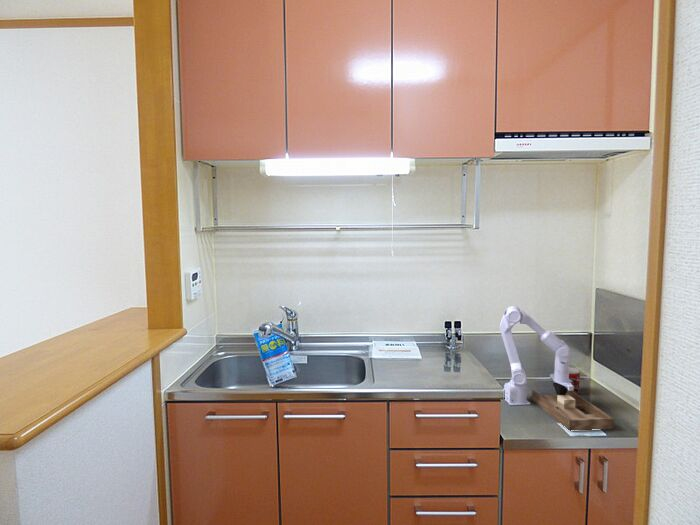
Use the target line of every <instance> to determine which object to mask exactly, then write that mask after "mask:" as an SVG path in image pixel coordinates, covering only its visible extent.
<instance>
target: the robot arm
mask: <svg viewBox="0 0 700 525" xmlns="http://www.w3.org/2000/svg"><path fill="white" fill-rule="evenodd" d="M518 323H519V324H520V325H527V326H528V327H529V328H530V329H531V330H533V331H534V332H535V333H536V334H537V335H538V336H540V338H539V339H540V341H541V342H542V343H543V344H544V345H546V346H547V348H549V349H550V350H552V351H554V352H555V354H554V355H555V357H554V371H553V373H550V374H549V379H551V380H553V383H552V385H553V388H554V389H555V393H556V394H555V395H566V393H567V391H568V390H569V391H573V390H574V386H573V385H572V384H571V383H570V382H571V380H570V379H569V367H570V357H571V356H572V351H571V349H570V347H569V346H568V344H567V343H566V342H565V341H564V340H563V339H560V338H559V337H558V336H557V335H556V332H554V331H552V330H546V329H544V328H543V327H542V326H541V325H540V324H539V323H538V322H536V320H535V319H534V318H532V317H531V316H530V314H528V313H526V312H525V311H524V310H522V309H520V307H518V306H516V305H510V306H507V308H506V309H505V311H504V312H503V315H502V317H501V320H500V323H499V332H500V334H501V339H502V341H503V344H504V348H505V351H506V354H507V358H508V361H509V365H510V369H511V370H510V372H511V379H510V380H509V382H505V383H504V386H503V391H504V390H505V399H504V401H506V403H508V404H509V405H510V406H526V405H527V406H528V405H531V402H530V401H529V400H528V376H527V375H526V374H527V373H526V369H525V368H524V367H523V365H522V362H521V360H520V356H519V353H518V349H517V346H516V342H515V339H514V336H513V333H512V328H513V327H514V326H515V325H517V324H518Z"/></svg>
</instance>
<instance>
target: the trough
mask: <svg viewBox="0 0 700 525" xmlns="http://www.w3.org/2000/svg"><path fill="white" fill-rule="evenodd" d="M566 395H569V396H571V397H572V398H574V399H575V409H563V408H562V407H560V406H559V405H558V404H557V394H539V393H538V392H537V391H535V390H531V400H532V402H534V403H535V404H536V405H537V406H538V407H539V408H541V409H542V410H543V411H545V413H546V414H548V415H549V416H550V417H552V418H553V420H555V419H556V420H557V421H556V420H555V421H556V422H557V423H559V424H560V423H561V424H562V425H563V426H562V425H561V424H560V425H561V426H562V427H564V426H565V427H566V428H567V429H568V430H570V431H571V430H592V429H612V430H614V425H615V424H614V423H615V422H614V419H615V418H614V417H612V416H611V415H609V414H608V413H606V412H605V411H603V410H602V409H600V408H598V406H596V405H594V404H593V403H592V402H590V401H588V400H587V399H585V398H583V396H581V395H579V393H578V394H576V393H575V392H573V391H569V390H568V391H567V394H566ZM565 427H564V428H565ZM566 428H565V429H566ZM567 429H566V430H567ZM568 430H567V431H568Z"/></svg>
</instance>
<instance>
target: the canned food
mask: <svg viewBox="0 0 700 525" xmlns="http://www.w3.org/2000/svg"><path fill="white" fill-rule="evenodd" d="M580 374H581V371H580V369H578V368H575V367H572V366H571V367H570V366H569V379H570V380H571V382H570V383H571V384H572V385H573V386H574V390H573V392H575V393H576V394H578V395H579V393H580V382H581V380H580V379H581V378H580Z"/></svg>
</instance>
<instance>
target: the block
mask: <svg viewBox="0 0 700 525" xmlns="http://www.w3.org/2000/svg"><path fill="white" fill-rule="evenodd" d="M556 395H557V394H556ZM557 404H558V405H559V406H560V407H562V408H563V409H575V399H574V398H572V397H571V396H569V395H557Z"/></svg>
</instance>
